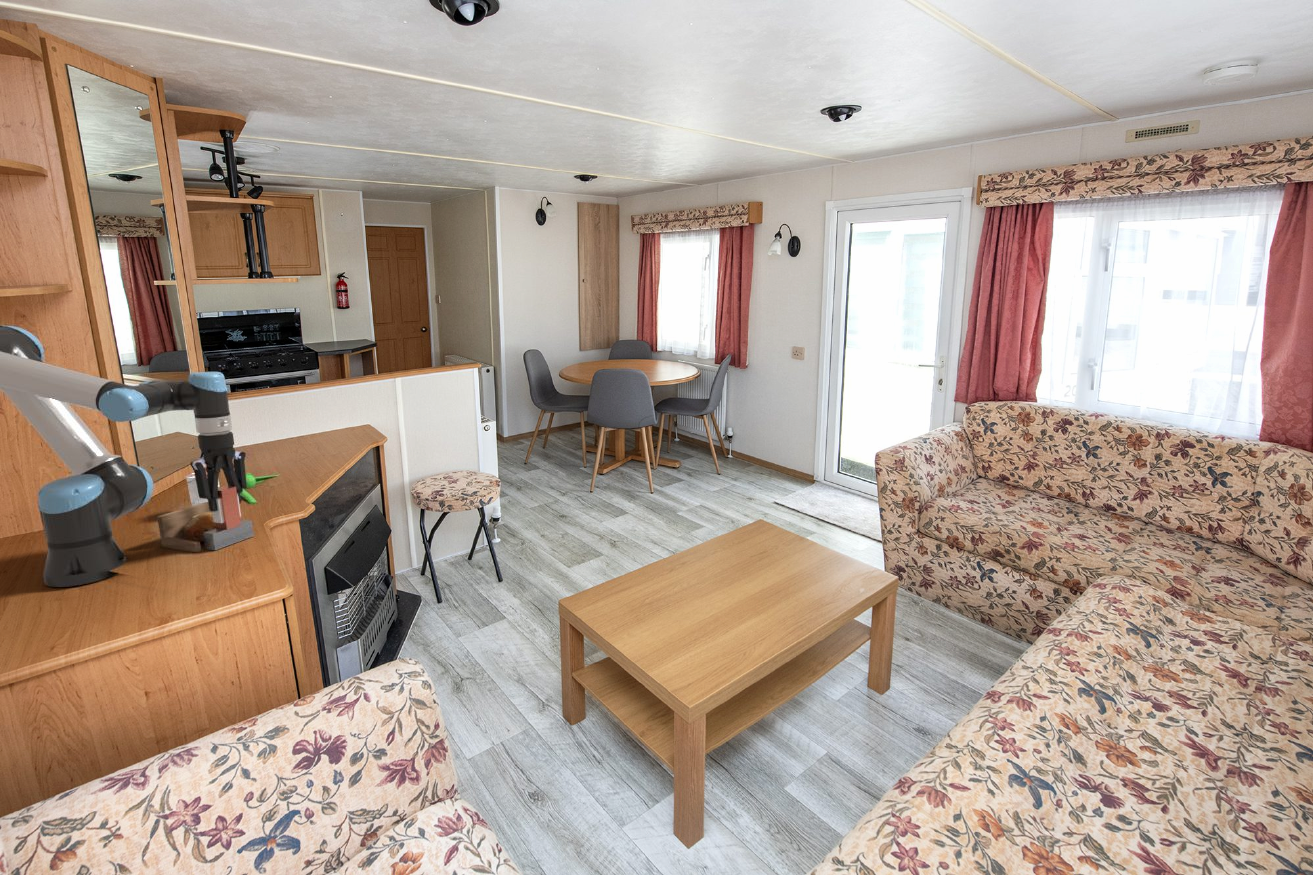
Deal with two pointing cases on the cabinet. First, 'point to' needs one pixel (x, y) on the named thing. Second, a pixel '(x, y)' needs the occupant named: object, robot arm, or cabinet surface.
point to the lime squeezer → (251, 483)
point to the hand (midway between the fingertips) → (227, 519)
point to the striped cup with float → (194, 490)
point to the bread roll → (199, 526)
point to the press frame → (180, 527)
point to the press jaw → (228, 522)
